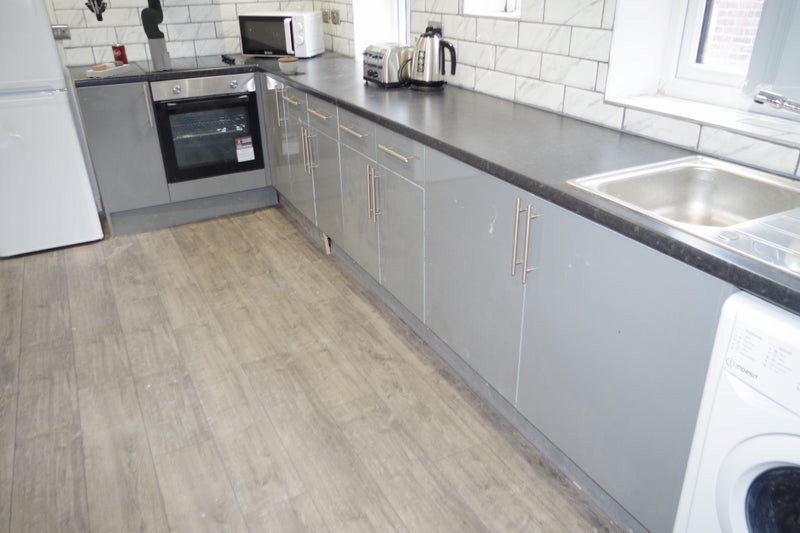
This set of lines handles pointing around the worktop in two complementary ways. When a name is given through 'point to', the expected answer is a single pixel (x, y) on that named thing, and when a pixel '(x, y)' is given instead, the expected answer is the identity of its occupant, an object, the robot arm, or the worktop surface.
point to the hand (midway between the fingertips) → (100, 21)
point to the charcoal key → (117, 63)
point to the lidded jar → (288, 65)
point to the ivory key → (109, 65)
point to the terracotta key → (99, 67)
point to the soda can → (120, 53)
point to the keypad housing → (109, 71)
